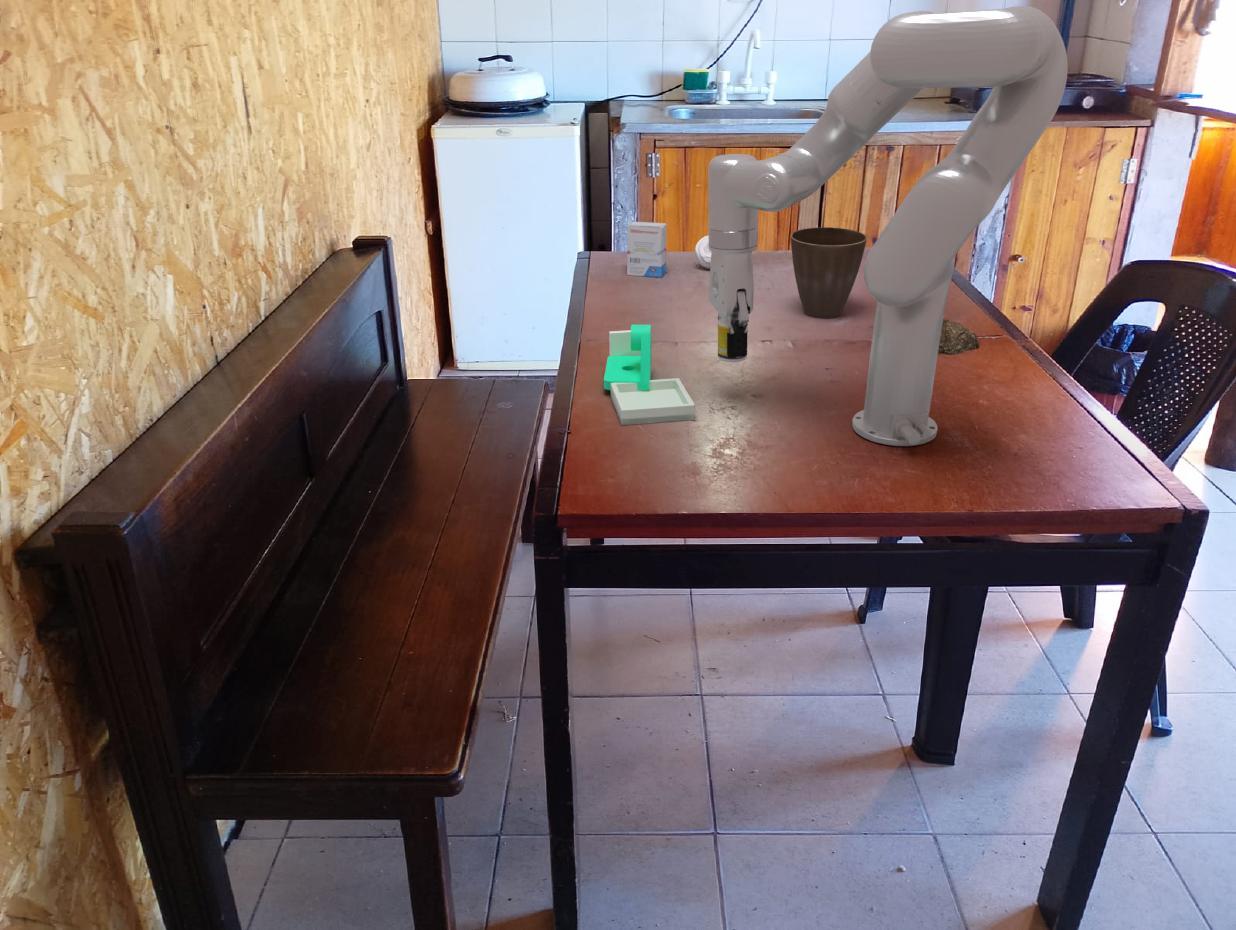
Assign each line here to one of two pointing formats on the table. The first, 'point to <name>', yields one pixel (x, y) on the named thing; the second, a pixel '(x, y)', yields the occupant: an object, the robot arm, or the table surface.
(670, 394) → the tray
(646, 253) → the ink box
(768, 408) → the table surface
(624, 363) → the camera mount
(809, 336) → the table surface
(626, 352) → the rear label tag
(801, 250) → the plant pot
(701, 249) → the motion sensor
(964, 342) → the rock
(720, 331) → the supplement bottle
